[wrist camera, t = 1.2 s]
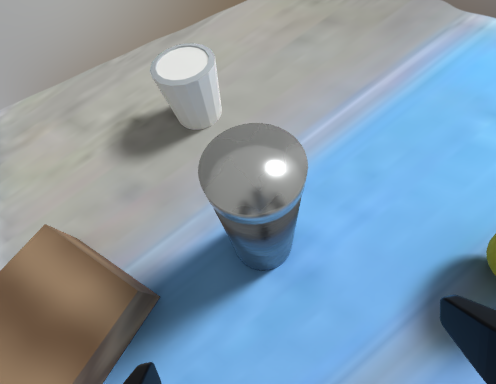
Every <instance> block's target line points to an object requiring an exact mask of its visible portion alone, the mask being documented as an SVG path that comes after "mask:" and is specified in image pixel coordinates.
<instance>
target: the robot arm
mask: <svg viewBox="0 0 496 384" xmlns="http://www.w3.org/2000/svg"><path fill="white" fill-rule="evenodd" d="M440 320H441V323H442V325H443V327H444V328H445V330H446V331H447V332H448V334H449V335H450V336H451V338H452V339H453V340H454V342H455V343H456V344H457V346H458V347H459V348H460V350H461V351H462V352H463V354H464V355H465V356H466V358H467V359H468V360H469V362H470V363H471V364H472V366H473V367H474V368H475V370H476V371H477V372H478V373H479V375H480V376H481V377H482V378H483V380H484V381H485V382H486V383H487V384H496V310H494V309H492V308H489V307H486V306H484V305H481V304H479V303H476V302H473V301H471V300H468V299H466V298H463V297H461V296H458V295H450V296H446V297H443V298H441V300H440ZM123 384H161V380H160V377H159V375H158V372H157V370H156V368H155V365H154V364H153V363H152V362H149V363H144V364H140V365H138V366H137V367H136V368H135V370H134V371H133V372H132V373H131V374H130V376H129V377H128V378H127V379H126V381H125V382H124V383H123Z"/></svg>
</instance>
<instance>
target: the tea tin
mask: <svg viewBox="0 0 496 384" xmlns="http://www.w3.org/2000/svg"><path fill="white" fill-rule="evenodd" d="M307 170H308V162H307V157H306V154H305V151H304V149H303V147H302V145H301V144H300V143H299V141H298V140H297V139H296V138H295V137H294V136H293V135H291V134H290V133H289V132H287V131H285V130H283V129H281V128H279V127H277V126H273V125H269V124H263V123H249V124H243V125H238V126H235V127H232V128H230V129H228V130H226V131H224V132H222V133H221V134H219V135H218V136H217V137H215V138H214V139H213V140H212V141H211V142H210V143H209V144H208V146H207V147H206V148H205V150H204V152H203V154H202V156H201V159H200V161H199V167H198V175H199V181H200V184H201V187H202V189H203V191H204V193H205V195H206V197H207V198H208V200H209V202H210V204H211V205H212V207H213V208H214V210H215V212H216V214H217V216H218V218H219V219H220V221H221V223H222V225H223V227H224V229H225V231H226V233H227V235H228V237H229V239H230V241H231V243H232V245H233V246H234V248H235V250H236V252H237V254H238V256H239V258H240V259H241V260H242V262H243V263H245V264H246V265H247V266H249V267H250V268H253V269H256V270H262V271H265V270H271V269H274V268H276V267H278V266H280V265H281V264H282V263H283V262H284V261H285V260H286V259H287V257H288V256H289V253H290V251H291V246H292V241H293V236H294V231H295V226H296V221H297V216H298V211H299V206H300V201H301V196H302V193H303V190H304V186H305V181H306V176H307Z"/></svg>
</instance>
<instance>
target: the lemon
mask: <svg viewBox="0 0 496 384" xmlns="http://www.w3.org/2000/svg"><path fill="white" fill-rule="evenodd" d="M487 261H488V264H489V267H490V269H491V270H492V272H493V274H494V275H495V276H496V234H495V235H494V236H493V238H492V239H491V240H490V242H489V244H488V247H487Z"/></svg>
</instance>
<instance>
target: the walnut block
mask: <svg viewBox="0 0 496 384" xmlns="http://www.w3.org/2000/svg"><path fill="white" fill-rule="evenodd" d="M159 298H160V296H159V295H157V294H156V293H154V292H153V291H151V290H150V289H149V288H147V287H146V286H144V285H143V284H141V283H140V282H139V281H137V280H136V279H134V278H133V277H131V276H130V275H129V274H127V273H126V272H124V271H123V270H121V269H120V268H119V267H117V266H116V265H114V264H113V263H111V262H110V261H109V260H107V259H106V258H104V257H103V256H101V255H100V254H99V253H97V252H96V251H94V250H93V249H91V248H90V247H89V246H87V245H86V244H84V243H83V242H81V241H80V240H79V239H77V238H75V237H73V236H70V235H68V234H66V233H64V232H61V231H59V230H57V229H55V228H53V227H50V226H48V225H46V224H45V225H44V226H43V227H42V228H41V229H40V230H39V231H38V232H37V233H36V234H35V235H34V236H33V237H32V238H31V239H30V240H29V242H28V243H27V244H26V245H25V246H24V247H23V248H22V249H21V250H20V251H19V252H18V253H17V254H16V255H15V256H14V257H13V258H12V259H11V260H10V261H9V262H8V264H7V265H6V266H5V267H4V268H3V269H2V270H1V271H0V384H103V382H104V381H105V379H106V378H107V376H108V375H109V373H110V372H111V370H112V369H113V367H114V366H115V364H116V363H117V361H118V360H119V358H120V357H121V355H122V354H123V352H124V351H125V349H126V348H127V346H128V345H129V343H130V342H131V340H132V339H133V337H134V336H135V334H136V333H137V331H138V329H139V328H140V326H141V325H142V323H143V322H144V320H145V319H146V317H147V316H148V314H149V313H150V311H151V310H152V308H153V307H154V305H155V304H156V302H157V301H158V299H159Z"/></svg>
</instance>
